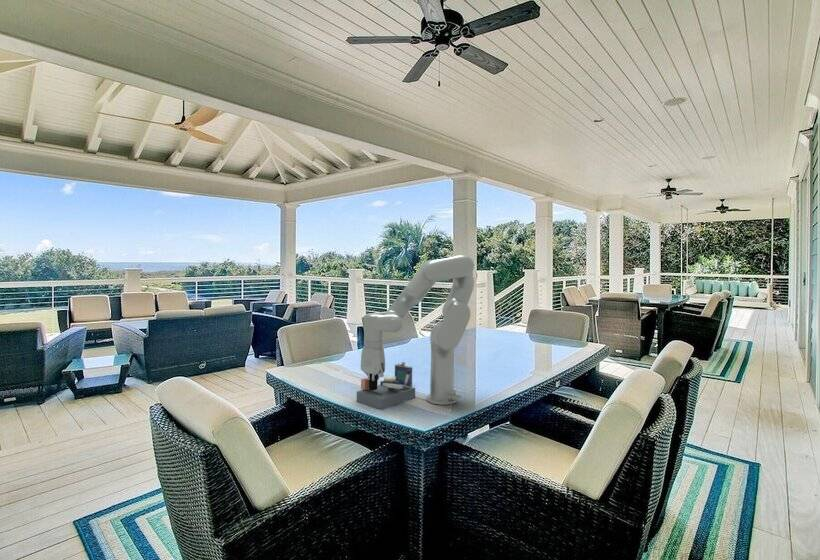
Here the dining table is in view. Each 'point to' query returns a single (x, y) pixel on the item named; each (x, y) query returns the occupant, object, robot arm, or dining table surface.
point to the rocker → (392, 385)
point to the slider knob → (364, 383)
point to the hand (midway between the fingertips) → (373, 389)
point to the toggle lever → (407, 377)
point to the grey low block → (385, 395)
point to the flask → (403, 374)
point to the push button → (389, 379)
